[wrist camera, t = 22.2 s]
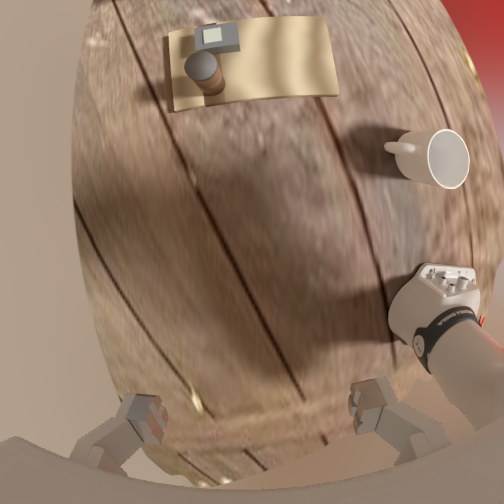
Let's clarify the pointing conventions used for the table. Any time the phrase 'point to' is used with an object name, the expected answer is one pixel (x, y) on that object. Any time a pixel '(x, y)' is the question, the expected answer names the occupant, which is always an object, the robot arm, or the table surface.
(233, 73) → the plank
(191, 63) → the peg
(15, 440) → the robot arm
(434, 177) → the mug
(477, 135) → the table surface
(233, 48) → the block
